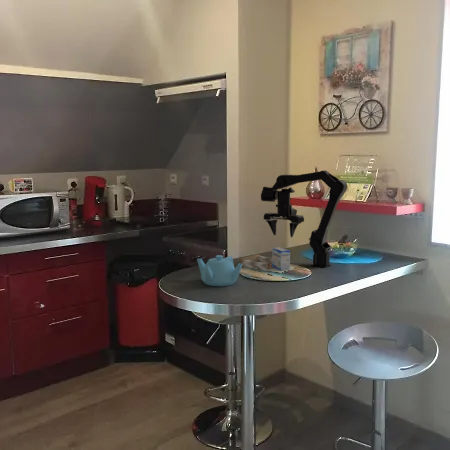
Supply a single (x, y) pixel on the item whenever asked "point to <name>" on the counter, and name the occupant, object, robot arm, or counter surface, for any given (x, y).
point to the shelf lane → (256, 262)
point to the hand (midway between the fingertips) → (283, 236)
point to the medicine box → (281, 259)
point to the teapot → (219, 271)
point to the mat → (279, 270)
